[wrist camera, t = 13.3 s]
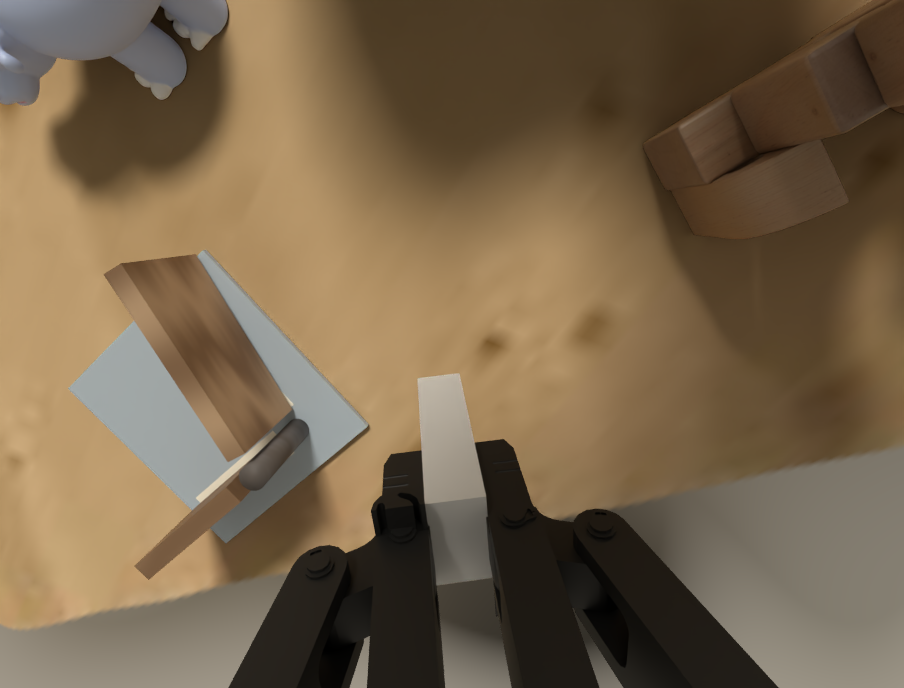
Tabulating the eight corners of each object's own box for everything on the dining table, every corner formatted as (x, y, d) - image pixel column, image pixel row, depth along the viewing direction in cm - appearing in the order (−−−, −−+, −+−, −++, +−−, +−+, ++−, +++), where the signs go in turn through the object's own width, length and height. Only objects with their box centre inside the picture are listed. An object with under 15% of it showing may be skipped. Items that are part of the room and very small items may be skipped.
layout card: (72, 386, 38) (67, 388, 37) (206, 249, 35) (202, 250, 34) (228, 540, 40) (225, 543, 39) (368, 424, 37) (367, 426, 36)
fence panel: (292, 409, 36) (244, 453, 29) (278, 416, 36) (227, 462, 29) (195, 254, 34) (120, 263, 27) (181, 263, 34) (103, 274, 27)
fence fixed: (201, 497, 39) (131, 563, 32) (300, 412, 37) (250, 461, 29) (216, 512, 39) (151, 582, 32) (315, 428, 37) (270, 481, 30)
